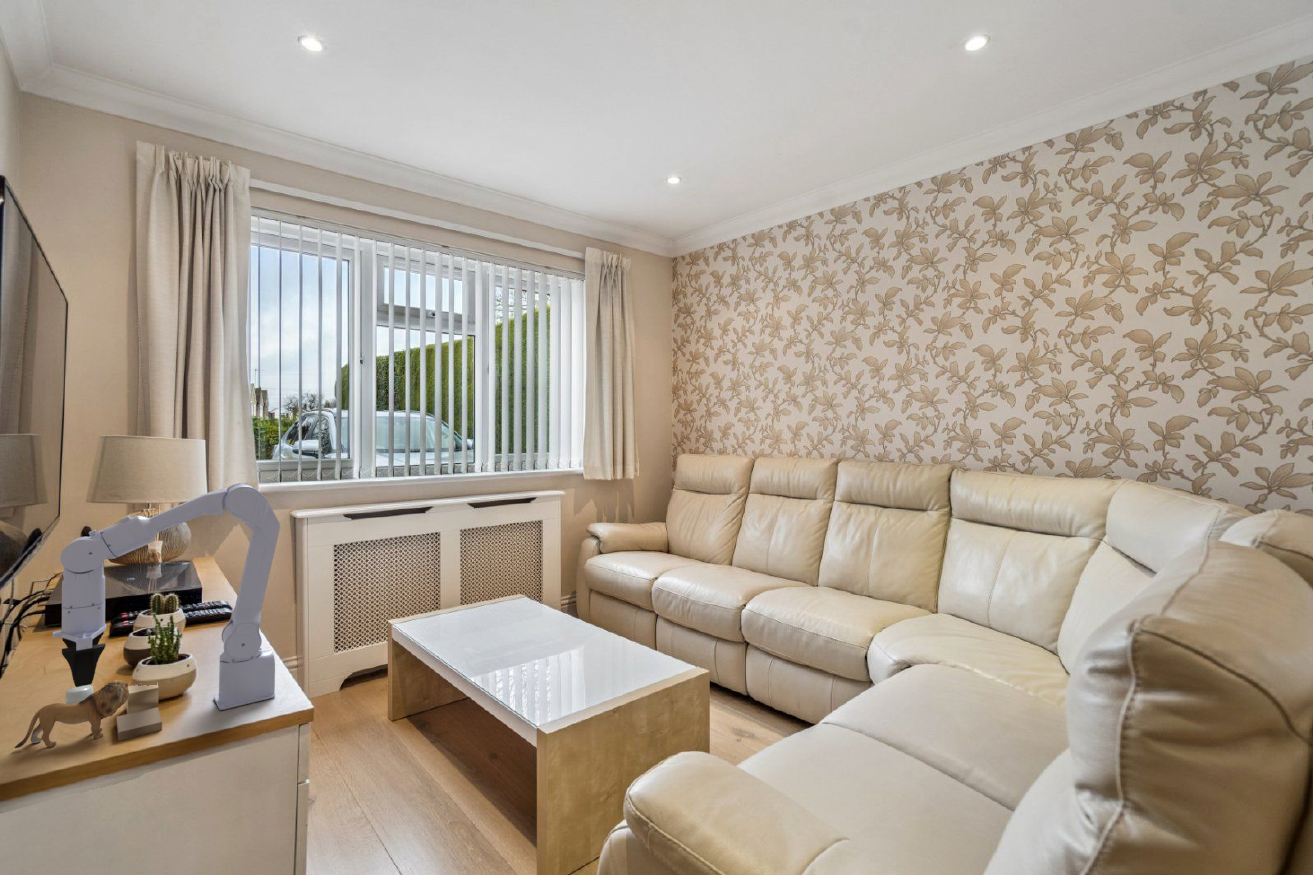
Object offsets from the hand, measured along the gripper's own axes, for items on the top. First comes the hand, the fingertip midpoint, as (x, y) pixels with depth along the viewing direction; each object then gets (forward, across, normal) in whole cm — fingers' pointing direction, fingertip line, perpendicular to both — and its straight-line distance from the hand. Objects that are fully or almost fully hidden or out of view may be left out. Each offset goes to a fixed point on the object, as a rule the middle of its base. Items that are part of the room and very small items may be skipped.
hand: (83, 678), depth 110 cm
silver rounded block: (+10, -16, 0) cm, 19 cm away
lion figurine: (+10, +2, -1) cm, 10 cm away
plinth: (+10, +4, +8) cm, 13 cm away
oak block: (+10, -5, +9) cm, 14 cm away
